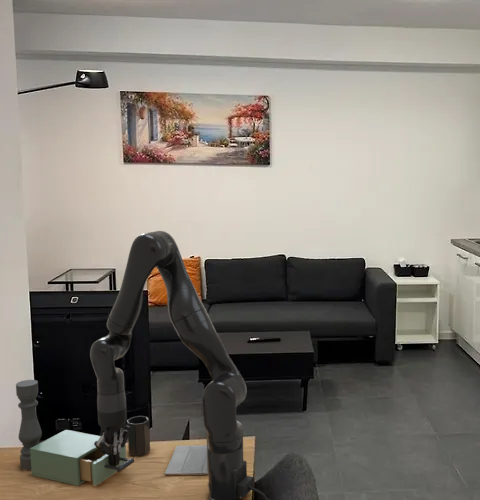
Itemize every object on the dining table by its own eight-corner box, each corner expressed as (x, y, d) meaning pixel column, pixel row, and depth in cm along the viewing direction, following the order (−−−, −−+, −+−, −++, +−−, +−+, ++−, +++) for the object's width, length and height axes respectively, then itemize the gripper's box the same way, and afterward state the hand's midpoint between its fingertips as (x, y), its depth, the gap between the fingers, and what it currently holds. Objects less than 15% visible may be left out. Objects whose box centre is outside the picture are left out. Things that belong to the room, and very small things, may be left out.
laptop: (176, 447, 202) (175, 407, 200) (217, 447, 203) (216, 407, 201) (164, 476, 184) (162, 432, 183) (208, 475, 185) (208, 431, 183)
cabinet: (112, 464, 191) (110, 438, 190) (78, 486, 179) (76, 458, 177) (67, 454, 197) (66, 429, 196) (31, 475, 184) (29, 448, 183)
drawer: (142, 468, 187) (141, 448, 186) (112, 489, 175) (111, 467, 174) (83, 456, 194) (82, 436, 193) (51, 475, 182) (50, 454, 181)
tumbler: (154, 450, 201) (152, 417, 199) (141, 458, 195) (139, 425, 193) (137, 446, 203) (136, 414, 201) (124, 455, 197) (122, 422, 195)
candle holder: (34, 471, 187) (29, 387, 183) (15, 468, 188) (9, 386, 184) (48, 461, 193) (43, 380, 189) (30, 459, 194) (24, 378, 190)
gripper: (106, 417, 172) (109, 478, 175) (138, 399, 184) (140, 457, 187) (83, 413, 175) (86, 473, 177) (117, 396, 187) (119, 453, 189)
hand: (114, 465), depth 182 cm, fingers closed
